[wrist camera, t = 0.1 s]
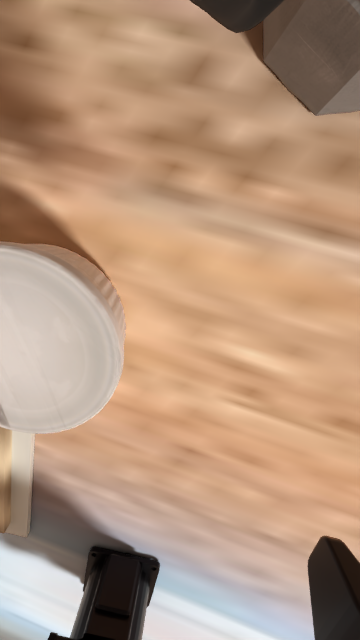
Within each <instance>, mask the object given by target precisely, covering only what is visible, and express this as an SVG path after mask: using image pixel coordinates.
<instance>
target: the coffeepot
mask: <svg viewBox="0 0 360 640" xmlns="http://www.w3.org/2000/svg"><path fill="white" fill-rule="evenodd" d="M190 1H191V2H192V3H194V4H195V5H197V6H199V7H200V8H201V9H202V10H204V11H205V12H207V13H208V14H209V15H210V16H211V17H212V18H214V19H215V20H216V21H217V22H219V23H220V24H222V25H223V26H224V27H226V28H227V29H229V30H231V31H233V32H235V33H239V32H244V31H247V30H250V29H252V28H253V27H254V26H256V25H257V24H259V23H260V22H262V21H263V61H264V63H265V64H266V65H267V66H268V67H269V68H270V69H271V70H272V71H273V72H274V73H275V74H276V75H277V76H278V78H279V79H280V80H281V81H282V83H283V84H284V85H285V86H286V88H287V89H288V90H289V91H290V92H291V93H292V94H293V95H295V96H296V97H297V98H298V99H299V100H301V101H302V102H303V103H304V104H305V105H306V106H307V107H308V109H309V110H310V111H311V112H312V113H313V114H314V115H315V116H318V115H327V114H336V113H350V112H355V111H360V0H190Z"/></svg>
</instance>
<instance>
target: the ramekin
mask: <svg viewBox="0 0 360 640" xmlns="http://www.w3.org/2000/svg"><path fill="white" fill-rule="evenodd" d="M125 330H126V323H125V315H124V311H123V306H122V303H121V300H120V297H119V296H118V294H117V292H116V289H115V288H114V287H113V285H112V284H111V282H110V280H109V279H108V278H107V277H106V276H105V275H104V273H103V272H102V271H101V270H99V269H98V268H97V267H96V266H95V265H94V264H92V263H91V262H89V261H88V260H87V259H86V258H84V257H82V256H80V255H79V254H77V253H75V252H72V251H70V250H68V249H66V248H62V247H59V246H55V245H48V244H21V243H15V242H4V241H0V427H3V428H6V429H9V430H13V431H18V432H24V433H34V434H46V433H55V432H60V431H65V430H69V429H72V428H74V427H77V426H79V425H81V424H83V423H84V422H86V421H88V420H89V419H91V418H92V417H94V416H95V415H96V414H97V413H98V412H100V411H101V410H102V408H103V407H104V406H105V405H106V404H107V403H108V401H109V400H110V398H111V397H112V395H113V393H114V391H115V389H116V387H117V385H118V383H119V380H120V377H121V374H122V370H123V362H124V341H125V336H126V334H125Z"/></svg>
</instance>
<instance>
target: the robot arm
mask: <svg viewBox="0 0 360 640" xmlns="http://www.w3.org/2000/svg"><path fill="white" fill-rule="evenodd" d="M159 568H160V563H159V562H157V561H154V560H150V559H146V558H141V557H137V556H133V555H128V554H124V553H120V552H116V551H111V550H107V549H103V548H98V547H92V548H91V549H90V552H89V556H88V562H87V568H86V575H85V581H84V587H83V592H84V594H83V597H82V601H81V604H80V607H79V610H78V613H77V617H76V620H75V623H74V626H73V629H72V632H71V636H70V638H68V637H63V636H59V635H58V634H57V633H53V632H51V633H50V635H49V638H48V640H142V634H143V627H144V621H145V614H146V608H147V607H148V606H149V603H150V600H151V597H152V593H153V590H154V586H155V583H156V579H157V576H158V573H159ZM308 576H309V586H310V596H311V606H312V616H313V626H314V636H315V640H360V563H359V561H358V560H357V559H356V558H355V556H354V555H353V554H352V552H351V551H350V550H349V549H348V547H347V546H346V545H345V544H344V542H342V541H341V540H340V539H337V538H333V537H329V536H322V537H321V538H320V539H319V541H318V543H317V545H316V546H315V548H314V550H313V551H312V553H311V555H310V557H309V560H308Z"/></svg>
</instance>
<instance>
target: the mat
mask: <svg viewBox="0 0 360 640" xmlns="http://www.w3.org/2000/svg"><path fill="white" fill-rule="evenodd" d="M34 442H35V434H34V433H24V432H18V431H13V430H12V468H11V523H10V524H9V526H8V528H7V529H6V531H5V533H9V534H13V535H18V536H22V537H26V538H27V536H28V534H29V532H30V521H31V501H32V482H33V462H34Z"/></svg>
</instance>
